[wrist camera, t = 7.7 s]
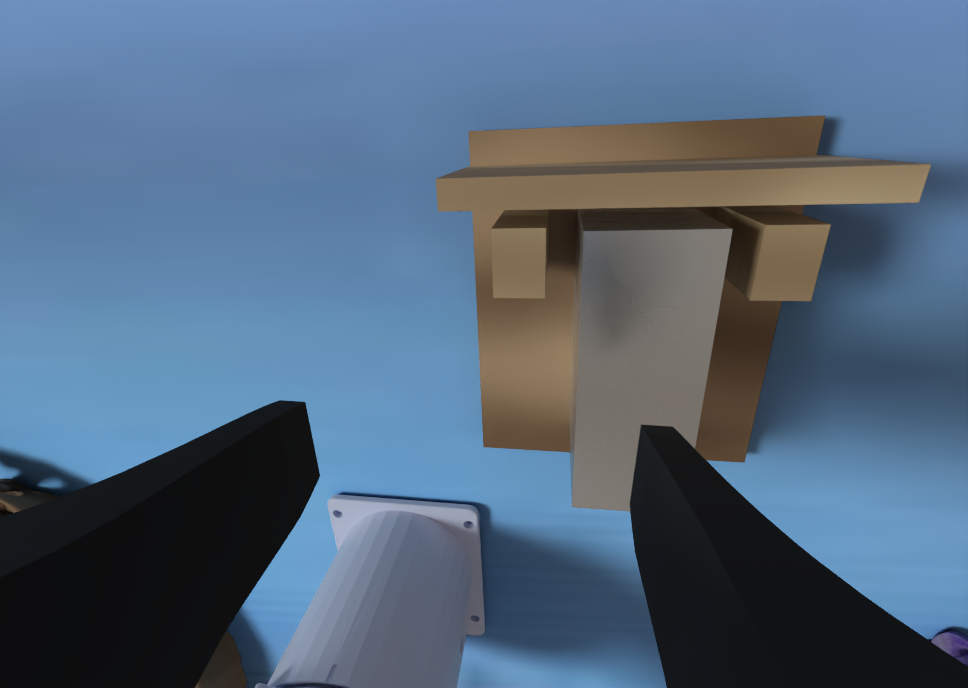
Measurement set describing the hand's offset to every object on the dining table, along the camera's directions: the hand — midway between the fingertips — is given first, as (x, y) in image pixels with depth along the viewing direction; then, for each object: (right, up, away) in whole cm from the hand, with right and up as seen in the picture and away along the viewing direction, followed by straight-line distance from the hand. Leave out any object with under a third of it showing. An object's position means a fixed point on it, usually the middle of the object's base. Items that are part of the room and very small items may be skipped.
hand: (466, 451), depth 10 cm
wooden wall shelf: (+6, +4, +8) cm, 11 cm away
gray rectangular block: (+6, +3, +8) cm, 10 cm away
